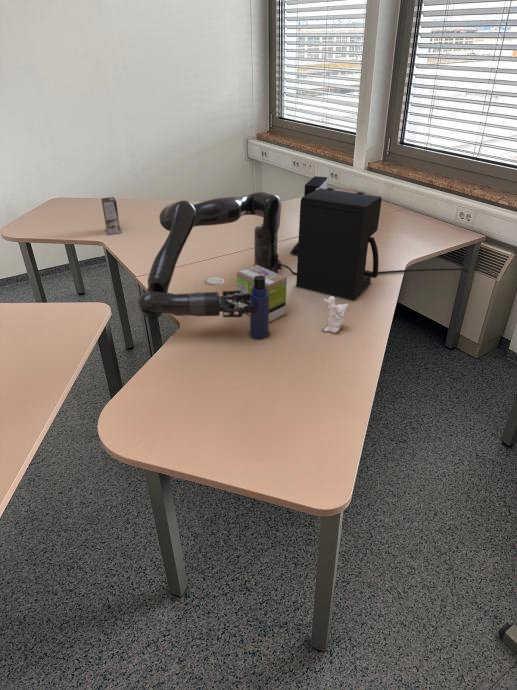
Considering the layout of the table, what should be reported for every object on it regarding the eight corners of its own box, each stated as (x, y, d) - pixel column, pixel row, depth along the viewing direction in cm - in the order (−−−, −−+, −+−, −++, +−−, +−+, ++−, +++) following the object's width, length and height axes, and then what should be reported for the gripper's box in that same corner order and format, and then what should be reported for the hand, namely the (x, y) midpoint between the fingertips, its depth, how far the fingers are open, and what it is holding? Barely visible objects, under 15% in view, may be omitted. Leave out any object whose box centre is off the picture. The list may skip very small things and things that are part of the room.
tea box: (236, 309, 174) (235, 271, 167) (256, 301, 180) (256, 263, 173) (266, 324, 165) (267, 284, 157) (286, 314, 171) (287, 275, 163)
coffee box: (121, 233, 246) (116, 201, 237) (108, 234, 243) (102, 202, 235) (118, 227, 253) (114, 196, 244) (105, 229, 251) (100, 197, 242)
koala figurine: (321, 334, 160) (323, 301, 153) (320, 324, 165) (323, 292, 159) (346, 335, 159) (350, 302, 153) (345, 325, 165) (349, 293, 158)
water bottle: (262, 328, 163) (263, 272, 152) (271, 336, 158) (272, 279, 148) (246, 332, 160) (246, 276, 150) (255, 340, 156) (255, 283, 145)
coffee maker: (380, 284, 193) (394, 195, 175) (363, 303, 179) (376, 208, 161) (316, 270, 205) (322, 186, 187) (295, 286, 191) (300, 197, 173)
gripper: (202, 303, 144) (257, 302, 145) (204, 283, 156) (254, 282, 157) (204, 325, 148) (257, 324, 149) (205, 304, 160) (254, 303, 161)
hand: (255, 303), depth 153 cm, fingers open, 8 cm apart
